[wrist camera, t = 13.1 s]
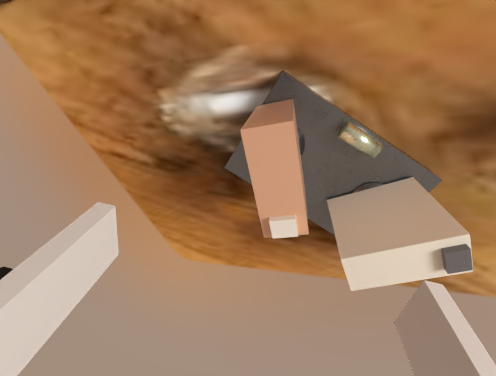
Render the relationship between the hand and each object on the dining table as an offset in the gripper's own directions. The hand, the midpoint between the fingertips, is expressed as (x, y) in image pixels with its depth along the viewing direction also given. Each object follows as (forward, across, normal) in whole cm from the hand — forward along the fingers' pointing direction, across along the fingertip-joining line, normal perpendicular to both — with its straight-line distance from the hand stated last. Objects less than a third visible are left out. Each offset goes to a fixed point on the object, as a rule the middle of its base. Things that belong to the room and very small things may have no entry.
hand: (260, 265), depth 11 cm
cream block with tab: (+19, +12, -5) cm, 23 cm away
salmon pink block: (+19, +1, -1) cm, 19 cm away
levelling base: (+22, +6, -3) cm, 23 cm away
